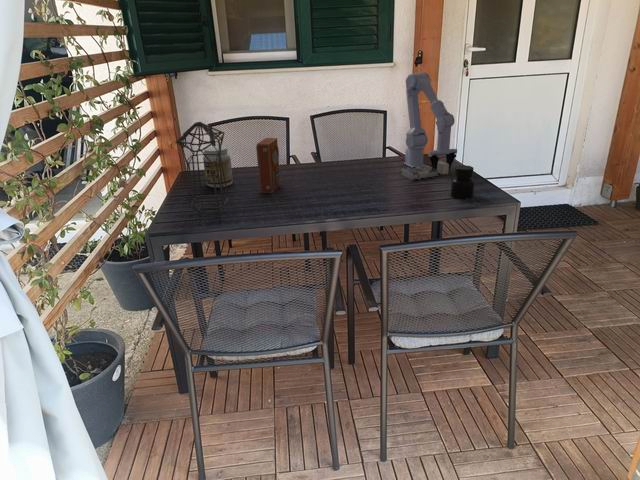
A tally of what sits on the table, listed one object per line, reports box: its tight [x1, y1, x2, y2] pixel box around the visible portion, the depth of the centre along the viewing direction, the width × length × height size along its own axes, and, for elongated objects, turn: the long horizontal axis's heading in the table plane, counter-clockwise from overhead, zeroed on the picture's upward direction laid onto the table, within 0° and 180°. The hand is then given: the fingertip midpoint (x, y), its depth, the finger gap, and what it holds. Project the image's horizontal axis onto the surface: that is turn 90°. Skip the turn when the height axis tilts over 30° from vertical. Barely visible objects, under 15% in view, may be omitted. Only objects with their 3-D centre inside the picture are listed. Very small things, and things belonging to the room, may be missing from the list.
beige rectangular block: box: [437, 160, 450, 174], centre depth 217 cm, size 7×3×5 cm, turn 20°
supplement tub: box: [202, 145, 234, 189], centre depth 209 cm, size 12×12×17 cm
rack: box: [400, 164, 439, 181], centre depth 214 cm, size 10×14×3 cm
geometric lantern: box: [174, 121, 229, 218], centre depth 170 cm, size 16×16×35 cm
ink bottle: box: [450, 164, 476, 200], centre depth 183 cm, size 10×9×12 cm
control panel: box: [255, 137, 281, 194], centre depth 199 cm, size 21×7×15 cm
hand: (441, 169), depth 217 cm, fingers open, 7 cm apart
